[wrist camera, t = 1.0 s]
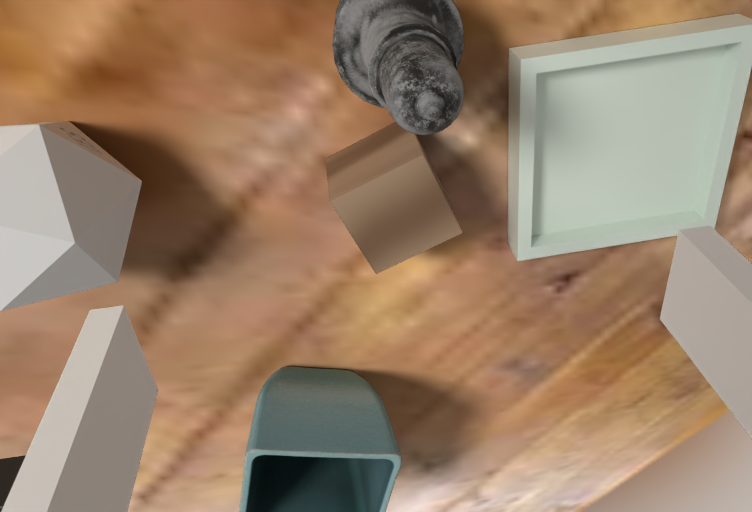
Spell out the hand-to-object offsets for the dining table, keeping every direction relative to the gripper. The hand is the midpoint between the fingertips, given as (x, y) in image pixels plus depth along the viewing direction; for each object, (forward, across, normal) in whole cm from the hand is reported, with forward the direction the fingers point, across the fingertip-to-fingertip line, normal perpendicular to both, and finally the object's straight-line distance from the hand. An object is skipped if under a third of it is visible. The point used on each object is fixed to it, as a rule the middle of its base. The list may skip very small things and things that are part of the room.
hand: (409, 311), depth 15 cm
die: (+20, -16, -4) cm, 26 cm away
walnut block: (+20, +1, -6) cm, 21 cm away
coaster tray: (+20, +14, -6) cm, 25 cm away
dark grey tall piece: (+20, +2, +2) cm, 20 cm away
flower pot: (+20, -5, -22) cm, 31 cm away
